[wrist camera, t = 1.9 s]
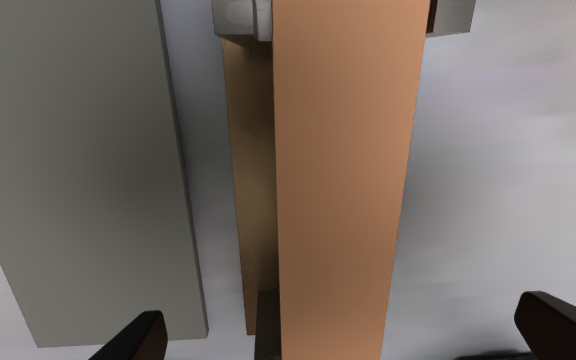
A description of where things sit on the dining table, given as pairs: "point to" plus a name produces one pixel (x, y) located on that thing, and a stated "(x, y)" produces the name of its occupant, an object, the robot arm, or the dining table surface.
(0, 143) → the mat
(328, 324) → the rail
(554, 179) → the dining table surface
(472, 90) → the dining table surface
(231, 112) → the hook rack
